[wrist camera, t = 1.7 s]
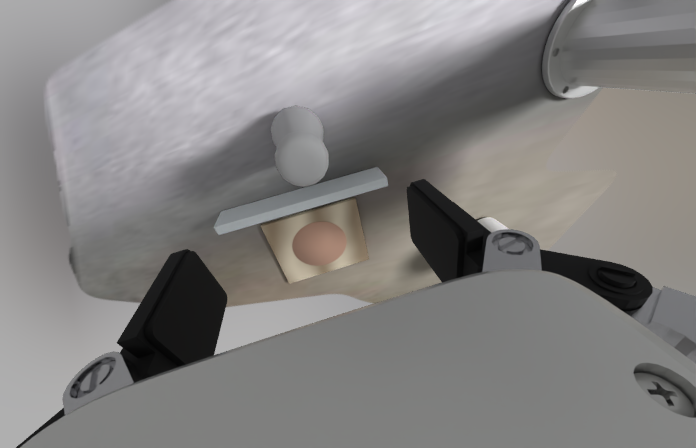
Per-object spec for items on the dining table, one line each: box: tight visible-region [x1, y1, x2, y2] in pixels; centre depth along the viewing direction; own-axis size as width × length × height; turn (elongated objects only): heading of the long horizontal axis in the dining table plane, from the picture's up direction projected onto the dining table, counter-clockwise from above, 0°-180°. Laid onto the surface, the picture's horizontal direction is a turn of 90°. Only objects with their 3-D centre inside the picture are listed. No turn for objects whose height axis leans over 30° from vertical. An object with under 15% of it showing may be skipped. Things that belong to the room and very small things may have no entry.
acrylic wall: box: [214, 167, 388, 235], centre depth 33 cm, size 22×1×4 cm, turn 102°
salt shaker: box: [271, 105, 329, 187], centre depth 24 cm, size 6×6×13 cm
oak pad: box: [261, 197, 369, 284], centre depth 39 cm, size 14×12×1 cm
